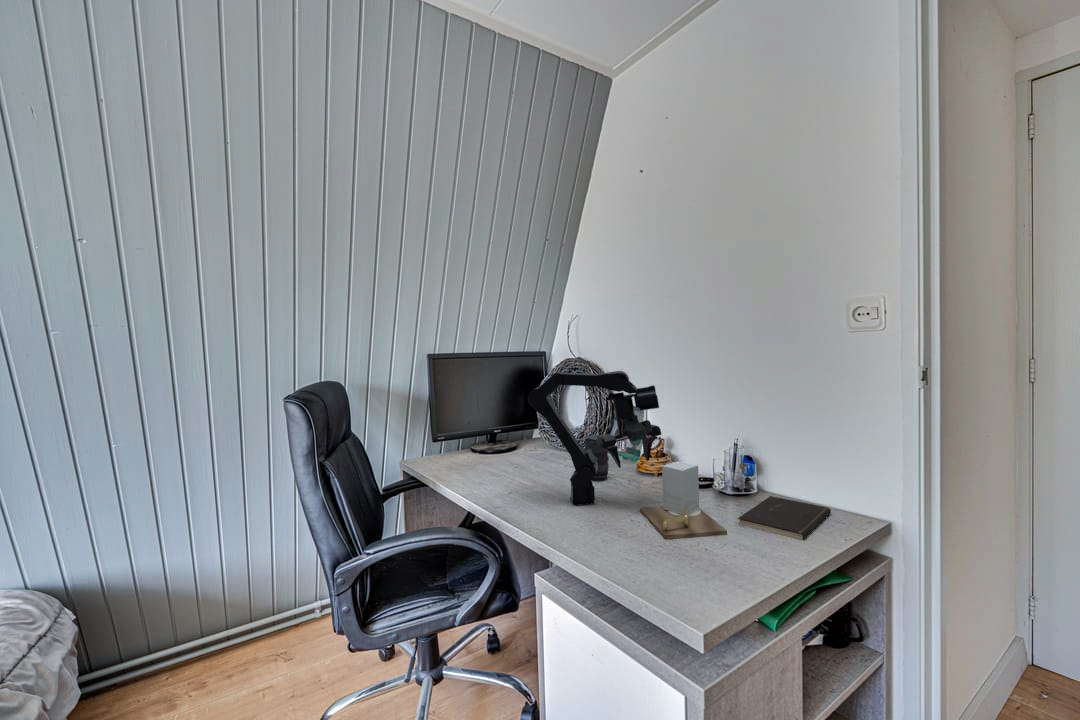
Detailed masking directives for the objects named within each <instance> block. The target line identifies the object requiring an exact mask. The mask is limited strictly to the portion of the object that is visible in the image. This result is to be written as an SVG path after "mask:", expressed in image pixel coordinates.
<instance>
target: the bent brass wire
mask: <svg viewBox="0 0 1080 720" xmlns="http://www.w3.org/2000/svg"><path fill="white" fill-rule="evenodd" d="M688 520H689V517H688V513H687V508H683V516H679V517H673V518H668V519H664V521H663V531H664V532H667V524H672V523H677V522H682V521H684V527H685V528H688Z"/></svg>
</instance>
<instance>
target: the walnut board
mask: <svg viewBox="0 0 1080 720" xmlns="http://www.w3.org/2000/svg"><path fill="white" fill-rule="evenodd" d="M639 511H641V512H640V513H641V514H642V515H643V517H644V518H645V519H646V518H647V519H648V520H647V519H646V520H647V521H648V522H649V523H650V524H651V526H653V528H654V527H655V528H654V529H655V530H656V531H657V532H658V533H659V534H660V535H661V537H662V536H663V537H662V538H663V539H664V540H673V539H674V538H675V539H685V538H687V537H688V538H697V537H698V538H699V537H710V536H711V537H712V536H722V535H723V536H724V535H728V530H727V529H726V528H724V527H723V526H722V525H721V524H720V523H719V522H717V521H716V520H714V519H713V518H712V517H711V516H709V515H708V513H706V512H705V511H703V510H702V509H701V507H699V510H697V511H694V512H692V513H689V514H688V517H689V520H688V528H685V527H684V521H682V522H677V523H672V524H667V532H664V531H663V521H664V519H668V518H673V517H679V516H683V515H681V514H678V513H675V512H672V511H668V510H665V509H663V505H661V506H660V505H658V506H656V505H655V506H646V507H645V506H643V507H639Z"/></svg>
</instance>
